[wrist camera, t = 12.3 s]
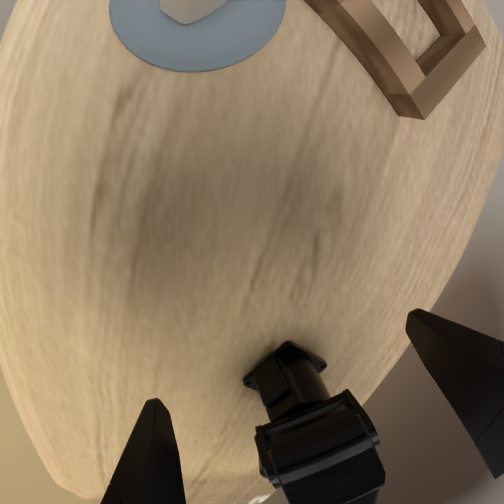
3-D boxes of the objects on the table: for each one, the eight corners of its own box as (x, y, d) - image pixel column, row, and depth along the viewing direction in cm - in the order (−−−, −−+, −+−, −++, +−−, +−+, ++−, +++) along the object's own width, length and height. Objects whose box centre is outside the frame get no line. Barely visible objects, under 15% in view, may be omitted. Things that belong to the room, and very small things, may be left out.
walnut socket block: (462, 45, 18) (486, 45, 15) (398, 115, 20) (424, 119, 17) (386, -59, 12) (407, -70, 9) (296, -8, 14) (314, -23, 12)
